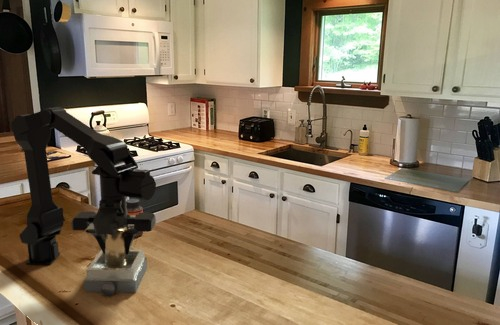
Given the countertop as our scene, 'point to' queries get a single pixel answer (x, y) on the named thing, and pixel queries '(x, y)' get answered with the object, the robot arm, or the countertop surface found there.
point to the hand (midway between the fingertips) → (116, 253)
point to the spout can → (116, 249)
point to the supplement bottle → (133, 211)
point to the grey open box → (116, 274)
